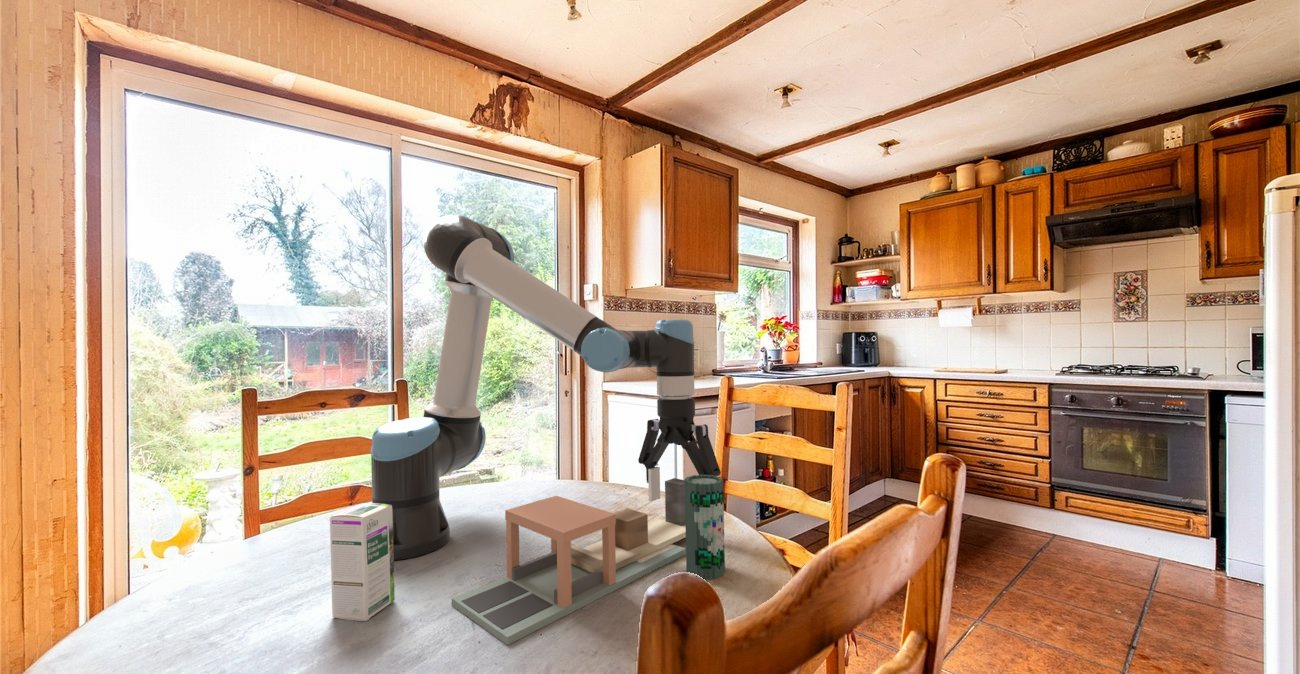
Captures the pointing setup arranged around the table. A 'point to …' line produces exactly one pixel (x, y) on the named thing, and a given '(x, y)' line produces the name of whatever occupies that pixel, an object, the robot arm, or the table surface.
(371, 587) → the syrup box
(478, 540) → the table surface
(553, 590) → the track
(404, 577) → the table surface
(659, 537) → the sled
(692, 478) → the can
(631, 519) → the block
